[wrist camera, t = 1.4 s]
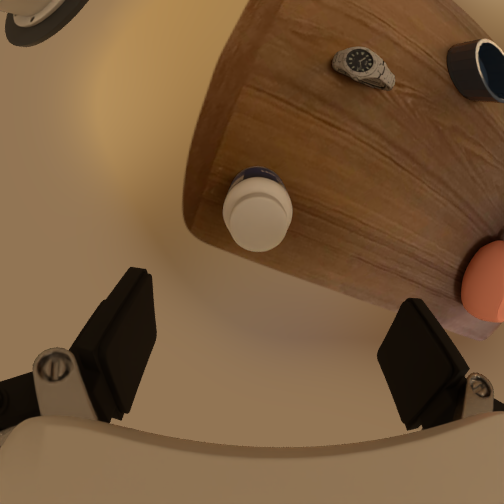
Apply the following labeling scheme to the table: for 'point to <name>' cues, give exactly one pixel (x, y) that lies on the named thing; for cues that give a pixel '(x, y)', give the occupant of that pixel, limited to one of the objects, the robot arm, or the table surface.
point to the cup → (478, 70)
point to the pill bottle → (257, 209)
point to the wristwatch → (364, 67)
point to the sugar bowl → (485, 283)
